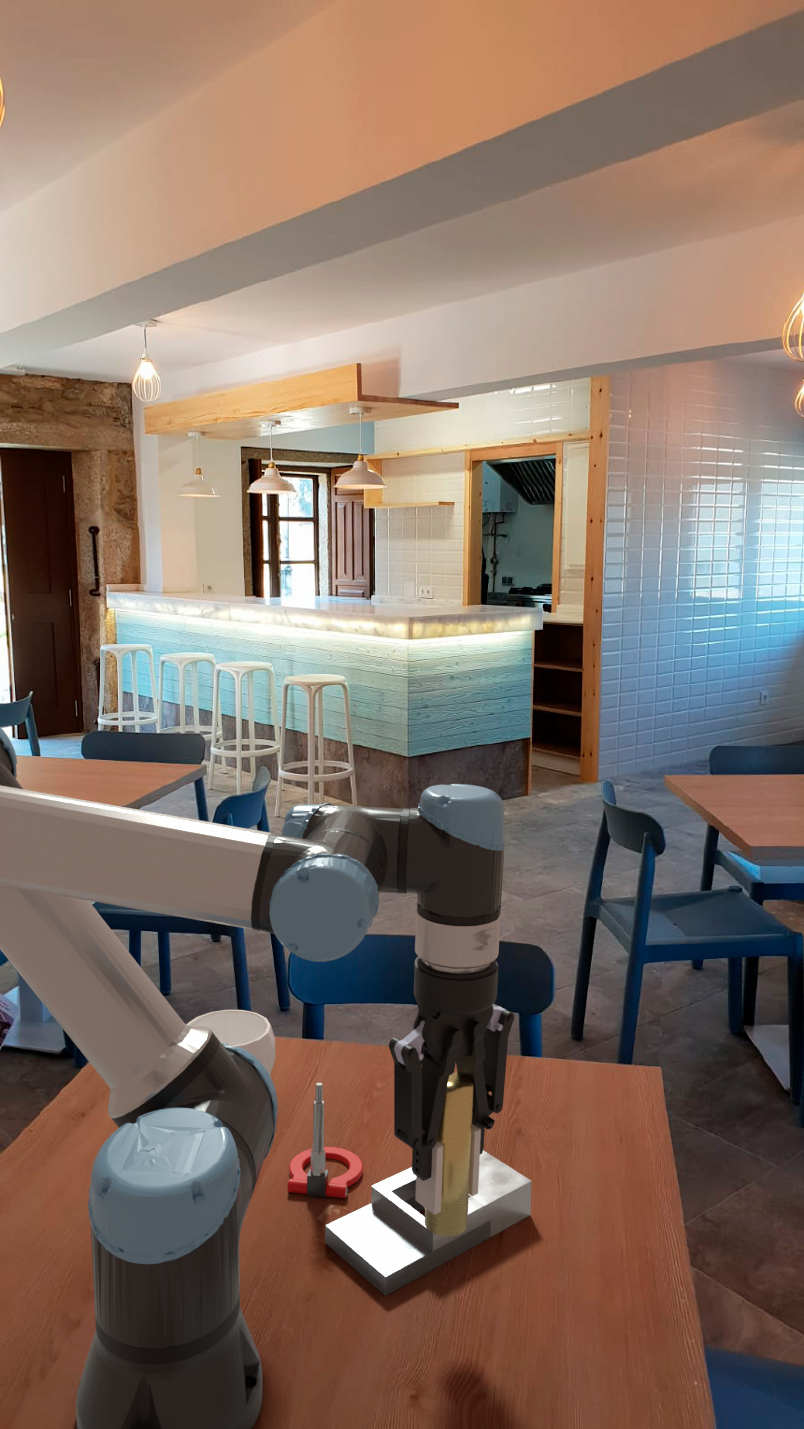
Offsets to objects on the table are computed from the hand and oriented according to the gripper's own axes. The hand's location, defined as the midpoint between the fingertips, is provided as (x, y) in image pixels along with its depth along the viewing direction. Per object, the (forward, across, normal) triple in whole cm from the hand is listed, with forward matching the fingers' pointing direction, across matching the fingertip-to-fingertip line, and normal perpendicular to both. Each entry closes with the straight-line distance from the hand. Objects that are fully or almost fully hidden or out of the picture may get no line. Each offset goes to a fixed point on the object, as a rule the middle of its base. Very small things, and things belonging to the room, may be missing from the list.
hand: (446, 1196), depth 97 cm
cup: (+12, +4, +46) cm, 48 cm away
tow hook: (+12, +4, +24) cm, 28 cm away
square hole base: (+11, +7, +9) cm, 16 cm away
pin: (+3, 0, 0) cm, 3 cm away
